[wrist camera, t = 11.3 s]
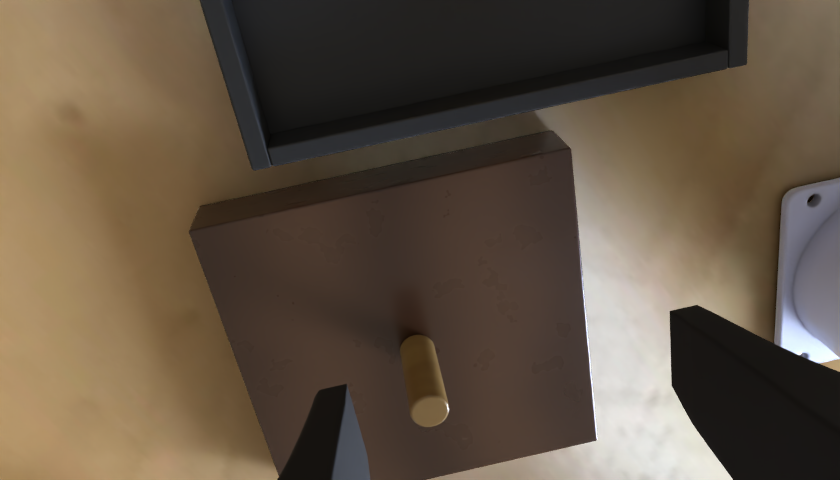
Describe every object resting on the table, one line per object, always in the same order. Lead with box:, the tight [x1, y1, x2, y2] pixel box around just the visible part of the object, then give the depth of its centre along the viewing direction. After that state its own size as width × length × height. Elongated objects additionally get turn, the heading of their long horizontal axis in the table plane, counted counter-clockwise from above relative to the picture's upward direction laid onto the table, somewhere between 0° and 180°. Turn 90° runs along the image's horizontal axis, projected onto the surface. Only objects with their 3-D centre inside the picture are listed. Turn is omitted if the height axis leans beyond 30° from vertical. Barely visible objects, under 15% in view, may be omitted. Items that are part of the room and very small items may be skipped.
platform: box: [189, 131, 597, 480], centre depth 23 cm, size 12×12×5 cm
